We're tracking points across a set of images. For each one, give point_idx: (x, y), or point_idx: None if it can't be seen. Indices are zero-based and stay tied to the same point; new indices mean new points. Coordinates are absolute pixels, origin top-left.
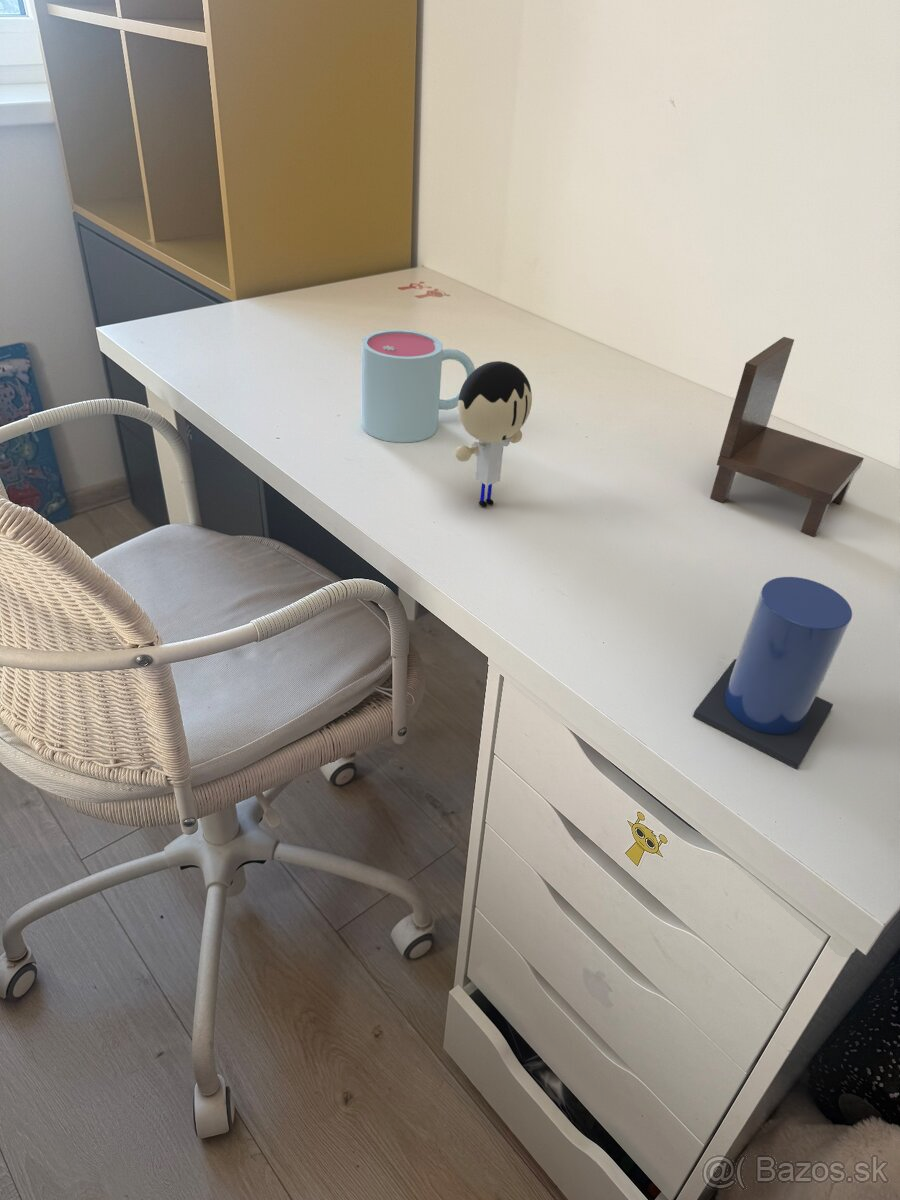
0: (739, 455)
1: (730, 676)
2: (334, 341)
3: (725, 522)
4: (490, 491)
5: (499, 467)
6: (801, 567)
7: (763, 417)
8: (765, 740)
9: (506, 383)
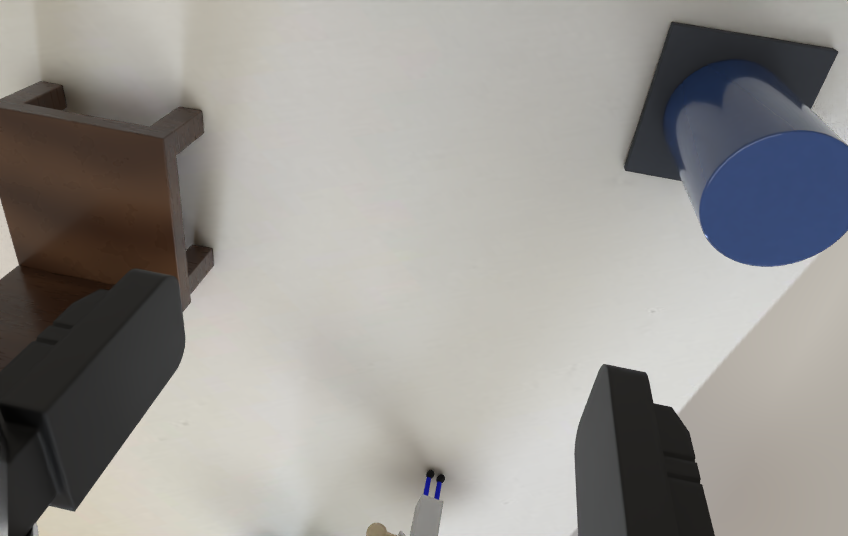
0: None
1: (671, 169)
2: None
3: (263, 235)
4: (427, 486)
5: (421, 512)
6: (308, 116)
7: (37, 290)
8: None
9: None
